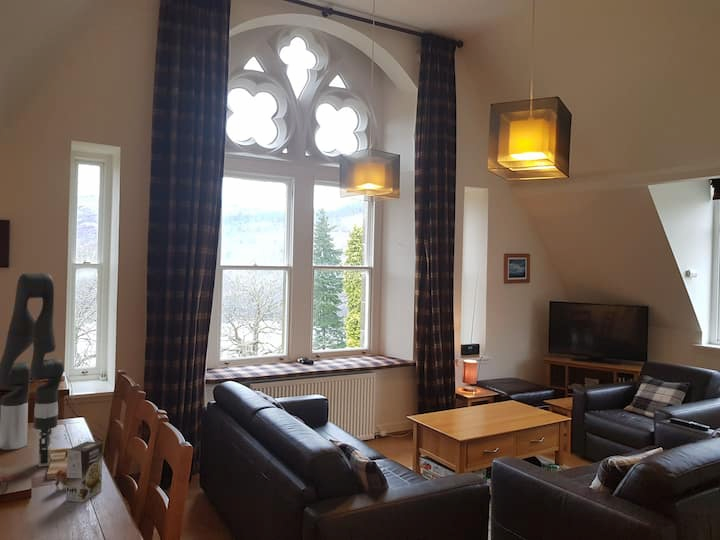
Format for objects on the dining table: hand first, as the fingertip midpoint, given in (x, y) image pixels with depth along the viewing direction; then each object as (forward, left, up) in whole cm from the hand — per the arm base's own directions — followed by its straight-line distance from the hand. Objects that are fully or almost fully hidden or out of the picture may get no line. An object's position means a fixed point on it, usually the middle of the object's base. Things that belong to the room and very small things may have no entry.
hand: (44, 460), depth 200 cm
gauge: (0, +3, -1) cm, 3 cm away
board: (+4, +5, -1) cm, 6 cm away
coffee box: (+34, +15, -2) cm, 37 cm away
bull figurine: (+24, +11, -2) cm, 26 cm away
